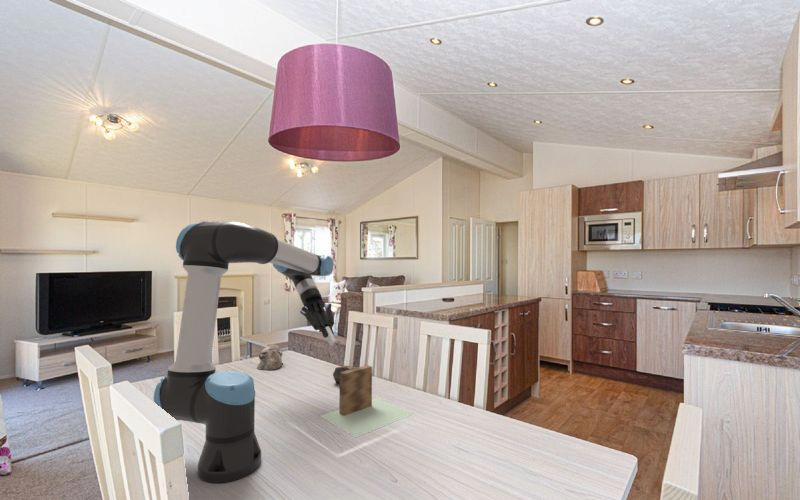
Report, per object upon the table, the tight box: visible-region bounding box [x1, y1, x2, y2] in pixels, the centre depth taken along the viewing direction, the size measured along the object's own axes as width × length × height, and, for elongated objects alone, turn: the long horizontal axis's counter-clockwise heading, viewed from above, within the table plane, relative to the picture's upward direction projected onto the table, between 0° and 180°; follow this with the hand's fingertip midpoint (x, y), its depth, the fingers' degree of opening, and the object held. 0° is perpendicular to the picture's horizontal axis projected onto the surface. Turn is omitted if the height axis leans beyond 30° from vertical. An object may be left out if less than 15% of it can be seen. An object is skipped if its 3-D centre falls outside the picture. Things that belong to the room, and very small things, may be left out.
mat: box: [319, 397, 414, 438], centre depth 130 cm, size 24×20×1 cm
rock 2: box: [332, 365, 358, 384], centre depth 162 cm, size 14×9×10 cm
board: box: [338, 364, 373, 416], centre depth 134 cm, size 12×2×14 cm, turn 133°
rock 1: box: [256, 344, 284, 371], centre depth 186 cm, size 15×12×10 cm
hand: (332, 343), depth 140 cm, fingers closed
